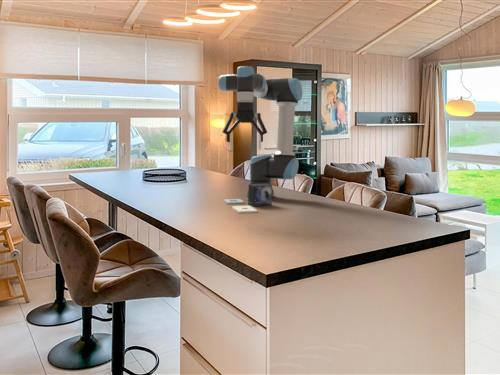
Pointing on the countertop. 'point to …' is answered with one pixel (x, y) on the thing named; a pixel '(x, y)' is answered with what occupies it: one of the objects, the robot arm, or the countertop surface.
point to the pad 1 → (233, 201)
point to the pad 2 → (244, 209)
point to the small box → (260, 194)
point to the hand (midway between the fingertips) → (244, 149)
